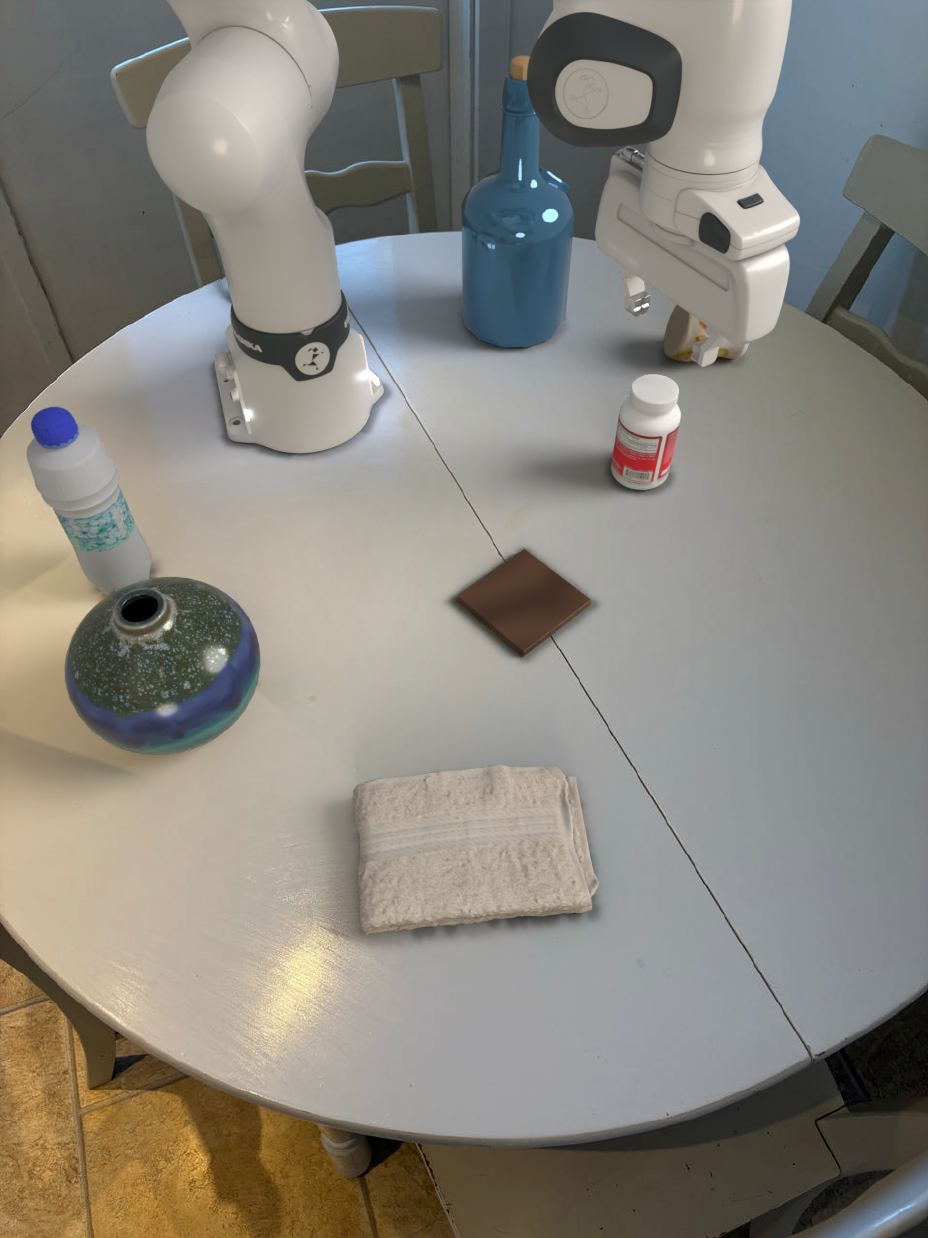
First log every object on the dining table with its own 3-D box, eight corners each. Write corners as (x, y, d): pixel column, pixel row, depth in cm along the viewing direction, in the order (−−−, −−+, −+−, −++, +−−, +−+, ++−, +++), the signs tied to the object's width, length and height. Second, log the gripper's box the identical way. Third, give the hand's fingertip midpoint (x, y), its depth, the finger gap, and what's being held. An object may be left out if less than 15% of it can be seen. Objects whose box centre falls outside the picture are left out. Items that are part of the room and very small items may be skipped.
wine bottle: (517, 365, 107) (530, 98, 84) (439, 322, 113) (430, 60, 90) (588, 318, 113) (618, 56, 90) (510, 279, 119) (520, 23, 96)
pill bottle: (651, 447, 98) (668, 363, 89) (678, 483, 94) (698, 399, 86) (600, 461, 97) (612, 376, 88) (625, 498, 93) (641, 414, 85)
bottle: (172, 561, 88) (106, 397, 72) (135, 610, 84) (58, 449, 69) (113, 545, 90) (37, 380, 74) (75, 593, 86) (-15, 430, 70)
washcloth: (602, 915, 66) (607, 899, 64) (360, 943, 65) (356, 929, 62) (571, 773, 73) (575, 754, 71) (354, 796, 72) (349, 778, 70)
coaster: (456, 600, 85) (456, 595, 84) (523, 553, 88) (524, 548, 88) (523, 657, 81) (523, 652, 80) (590, 605, 84) (591, 599, 84)
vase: (57, 712, 77) (-8, 617, 67) (196, 606, 84) (157, 506, 74) (168, 817, 71) (116, 730, 61) (308, 693, 78) (283, 597, 68)
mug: (756, 373, 106) (737, 319, 99) (676, 394, 111) (651, 343, 103) (752, 325, 110) (733, 268, 102) (675, 346, 114) (650, 294, 106)
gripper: (586, 147, 76) (573, 294, 87) (755, 251, 65) (717, 404, 76) (643, 128, 78) (624, 274, 89) (817, 227, 67) (771, 379, 78)
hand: (668, 335), depth 82 cm, fingers open, 8 cm apart
